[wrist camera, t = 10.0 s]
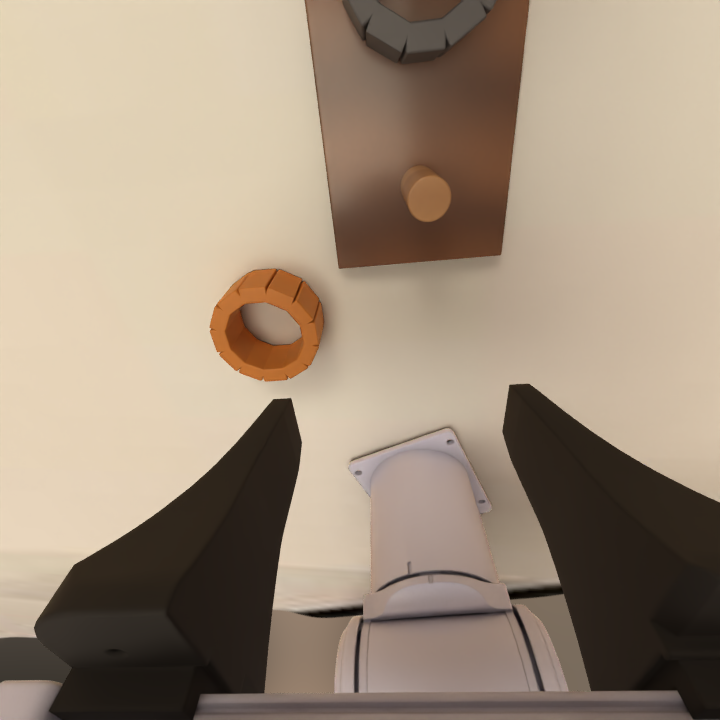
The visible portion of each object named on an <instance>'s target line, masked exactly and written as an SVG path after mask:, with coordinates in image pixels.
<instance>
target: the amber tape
mask: <svg viewBox="0 0 720 720" xmlns="http://www.w3.org/2000/svg"><path fill="white" fill-rule="evenodd" d="M301 281H302V279H301V278H299V277H296V276H294V275H292V274H289V273H287V272H285V271H282V270H280V269H279V270H278V272H277V270H276V269H266V270H254V271H252V272H251V273H250V272H249V273H247V274H246V275H245V276H243V277H242V278H241V279H239V280H238V281H237V282H235V283H234V284H233V285H232V286H231V288H230V289H229V290H228V291H227V292H226V294H225V295H224V296H223V297H222V298H221V300H220V301H219V302H218V303H217V305H216V306H215V308H214V312H213V315H212V319H211V323H210V328H211V330H210V333H211V336H212V339H213V342H214V345H215V348H216V350H217V352H220V354H219V355H220V356H221V357H222V358H223V359H224V360H225V361H226V362H227V363H228V364H229V365H230V366H231V367H232V368H233V369H235V370H236V371H237V370H239V369H240V370H239V373H241V374H244V375H247V376H249V377H252V378H255V379H258V380H263V377H264V381H279V380H287V379H288V377H289V378H290V379H291V378H293V377H294V376H296V375H297V374H299V373H301V372H302V371H304V370H306V369H307V368H308V366H310V365H311V363H312V361H313V359H314V357H315V355H316V352H317V350H318V348H319V344H320V339H321V335H322V330H323V324H324V319H323V313H322V306H321V302H318V301H319V298H318V297H317V296H316V294H315V293H314V292H313V291H312V290H311V288H310V287H309V286H308V285H307V283H306V282H302V283H301ZM261 302H267V303H269V304H271V305H274V306H276V307H279V308H281V309H284V310H286V311H287V312H288V313H289V314H290V315H291V316H292V317H293V318H294V320H295V321H296V322H297V323H298V324H299V325H300V329H301V334H302V338H300V339H299V340H297V341H295V342H294V343H292V344H290V345H276V346H273V345H270V344H268V343H265V342H263V341H260V340H257V339H256V338H255V337H254V336H253V335H252V334H251V333H250V332H249V331H248V330H247V329H246V328H245V326H244V323H243V320H242V316H241V313H240V308H241V307H242V306H243V305H244V304H249V303H261Z"/></svg>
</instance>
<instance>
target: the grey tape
mask: <svg viewBox="0 0 720 720" xmlns="http://www.w3.org/2000/svg"><path fill="white" fill-rule="evenodd" d="M342 1H343V5H344V8H345V10H346V12H347V13H348V15H349V17H350V19H351V21H352V23H353V24H354V26H355V28H356V30H357V32H358V34H359V36H360V37H361V39H362V40H363V41H364V40H366V45H367V46H368V47H369V48H371V49H373V50H374V51H376V52H378V53H380V54H381V55H383V56H385V57H386V58H388V59H390V60H391V61H393V62H395V63H397V62H398V60H399V58H400V62H401V64H408V63H417V62H425V61H433V60H434V59H435V58H436V57H437V56H438V57H441V56H442V55H443V54H445V53H446V52H447V51H448V50H449V49H451V48H452V47H453V46H454V45H455V44H457V43H458V42H459V41H460V40H461V39H463V38H464V37H465V36H466V35H467V34H468V33H470V32H471V31H472V30H473V29H474V28H475V27H476V26H478V25H479V24H480V23H481V22H482V21H483V20H484V19H485V18H486V17H487V16H486V15H487V14H488V13H489V12H490V11H491V10H492V9H493V7H494V5H495V3H496V1H497V0H461V2H460V3H458V4H457V5H456V6H455V7H454V8H453V9H452V10H450V11H449V12H448V13H447V14H446V15H445V16H444V17H442V18H437V19H429V20H421V21H413V22H409V21H408V20H406V19H405V18H403V17H401V16H400V15H398V14H397V13H395V12H393V11H392V10H390V9H389V8H387V7H385V6H384V5H382V4H381V3H380V2H379V0H342Z"/></svg>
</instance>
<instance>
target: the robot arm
mask: <svg viewBox="0 0 720 720" xmlns="http://www.w3.org/2000/svg"><path fill="white" fill-rule="evenodd" d="M502 432H503V435H504V439H505V442H506V446H507V449H508V452H509V455H510V458H511V461H512V463H513V466H514V468H515V470H516V472H517V474H518V477H519V479H520V481H521V483H522V486H523V488H524V490H525V492H526V494H527V496H528V499H529V501H530V503H531V505H532V507H533V510H534V512H535V514H536V516H537V518H538V521H539V523H540V525H541V528H542V530H543V533H544V535H545V538H546V541H547V544H548V547H549V550H550V553H551V556H552V558H553V561H554V564H555V567H556V570H557V574H558V577H559V580H560V583H561V586H562V589H563V593H564V596H565V599H566V602H567V605H568V609H569V612H570V616H571V619H572V623H573V626H574V629H575V633H576V636H577V640H578V643H579V647H580V651H581V654H582V658H583V662H584V665H585V669H586V673H587V677H588V681H589V684H590V688H591V691H569V690H568V687H567V684H566V680H565V677H564V674H563V671H562V668H561V666H560V662H559V660H558V657H557V654H556V652H555V649H554V647H553V644H552V642H551V639H550V637H549V635H548V633H547V631H546V629H545V627H544V625H543V624H542V622H541V621H540V619H539V618H537V617H536V616H535V615H534V614H533V613H532V612H530V611H529V609H528V608H527V607H526V606H525V605H522V604H515V605H511V602H510V598H509V595H508V591H507V588H506V585H505V584H504V583H500V582H499V578H498V575H497V571H496V568H495V564H494V561H493V557H492V554H491V550H490V547H489V543H488V539H487V536H486V532H485V529H484V525H483V522H482V518H481V515H480V514H483V513H486V512H489V511H490V510H491V509H492V506H491V503H490V501H489V499H488V497H487V495H486V493H485V491H484V489H483V488H482V486H481V484H480V482H479V480H478V478H477V476H476V474H475V472H474V470H473V468H472V466H471V464H470V462H469V460H468V458H467V456H466V454H465V452H464V451H463V449H462V447H461V445H460V443H459V441H458V439H457V437H456V435H455V433H454V431H453V430H452V429H449V428H446V429H442V430H439V431H437V432H434V433H431V434H428V435H425V436H422V437H419V438H416V439H413V440H411V441H408V442H405V443H402V444H399V445H396V446H393V447H390V448H387V449H385V450H382V451H379V452H376V453H373V454H370V455H367V456H364V457H361V458H359V459H356V460H353V461H351V462H350V463H349V466H348V469H349V471H350V472H351V473H352V475H353V476H354V477H355V479H356V480H357V481H358V482H359V484H360V485H361V486H362V488H363V489H364V490H365V492H366V493H367V494H368V495H369V497H370V498H371V593H370V594H365V595H364V600H363V616H355V617H352V619H351V620H350V622H349V624H348V626H347V628H346V629H345V630H344V632H343V633H342V636H341V638H340V642H339V647H338V652H337V660H336V671H335V692H334V693H271V694H267V693H264V690H265V678H266V667H267V656H268V644H269V635H270V626H271V616H272V608H273V600H274V592H275V584H276V576H277V569H278V562H279V555H280V548H281V542H282V537H283V532H284V528H285V524H286V520H287V516H288V512H289V508H290V504H291V500H292V496H293V492H294V488H295V484H296V479H297V475H298V471H299V464H300V455H301V446H302V441H301V437H300V433H299V429H298V424H297V420H296V416H295V412H294V408H293V404H292V400H291V398H287V399H273V400H272V402H271V403H270V404H269V405H268V406H267V407H266V409H265V410H264V411H263V412H262V413H261V415H260V416H259V417H258V418H257V419H256V421H255V422H254V423H253V424H252V425H251V427H250V428H249V429H248V430H247V431H246V432H245V433H244V435H243V436H242V437H241V438H240V439H239V440H238V441H237V443H236V444H235V445H234V446H233V447H232V448H231V449H230V450H229V451H228V452H227V453H226V454H225V455H224V456H223V457H222V458H221V459H220V460H219V462H218V463H217V464H216V465H215V466H213V467H212V468H211V469H210V470H209V471H208V472H207V473H206V474H205V475H204V476H203V477H201V478H200V479H199V480H198V481H197V482H196V483H195V484H194V485H192V486H191V487H190V488H189V489H188V490H186V491H185V492H184V493H183V494H181V495H180V496H179V497H177V498H176V499H175V500H173V501H172V502H171V503H170V504H168V505H167V506H166V507H164V508H163V509H162V510H161V511H159V512H158V513H156V514H155V515H154V516H152V517H151V518H149V519H148V520H146V521H145V522H144V523H142V524H141V525H139V526H138V527H136V528H135V529H133V530H132V531H130V532H129V533H127V534H125V535H124V536H122V537H121V538H119V539H118V540H116V541H114V542H113V543H111V544H109V545H108V546H106V547H104V548H102V549H101V550H99V551H97V552H96V553H94V554H92V555H91V556H89V557H87V558H86V559H84V560H82V561H80V562H78V563H77V564H75V565H74V566H73V567H72V569H71V570H70V572H69V573H68V575H67V576H66V578H65V579H64V581H63V582H62V584H61V585H60V587H59V588H58V590H57V591H56V593H55V594H54V596H53V597H52V599H51V600H50V602H49V603H48V605H47V606H46V608H45V609H44V611H43V612H42V614H41V615H40V617H39V618H38V620H37V621H36V624H35V627H34V630H35V633H36V636H37V639H38V640H39V641H40V642H41V643H42V644H43V645H44V646H45V647H47V648H48V649H49V650H50V651H52V652H53V653H54V654H55V655H57V656H58V657H59V658H61V659H62V660H63V661H64V662H66V663H67V664H68V665H69V666H71V667H72V669H71V671H70V673H69V675H68V676H67V678H66V680H65V682H64V684H61V683H58V682H54V681H47V680H24V681H4V682H2V683H0V720H720V503H719V502H717V501H715V500H713V499H711V498H708V497H706V496H704V495H702V494H700V493H698V492H696V491H693V490H691V489H689V488H687V487H685V486H683V485H682V484H680V483H678V482H676V481H674V480H672V479H670V478H668V477H666V476H664V475H662V474H660V473H658V472H656V471H654V470H653V469H651V468H649V467H647V466H646V465H644V464H642V463H640V462H639V461H637V460H635V459H634V458H632V457H630V456H628V455H627V454H625V453H623V452H622V451H620V450H619V449H617V448H616V447H614V446H612V445H611V444H609V443H608V442H606V441H605V440H603V439H602V438H601V437H599V436H598V435H596V434H595V433H593V432H592V431H590V430H589V429H588V428H586V427H585V426H583V425H582V424H581V423H579V422H578V421H577V420H575V419H574V418H573V417H571V416H570V415H569V414H567V413H566V412H565V411H563V410H562V409H561V408H559V407H558V406H557V405H556V404H554V403H553V402H552V401H551V400H549V399H548V398H547V397H546V396H544V395H543V394H542V393H541V392H539V391H538V390H537V389H535V388H534V387H533V386H531V385H530V384H516V385H509V392H508V399H507V405H506V412H505V418H504V425H503V431H502ZM450 439H451V441H447V440H450Z"/></svg>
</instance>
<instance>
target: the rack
mask: <svg viewBox="0 0 720 720" xmlns="http://www.w3.org/2000/svg"><path fill="white" fill-rule="evenodd" d="M379 2H380V3H381V4H382V5H384V6H385V7H387V8H389V9H390V10H392V11H393V12H395V13H397V14H398V15H400V16H401V17H403V18H405V19H406V20H408V21H409V22H413V21H421V20H429V19H437V18H442V17H444V16H445V15H446V14H447V13H448V12H449V11H450V10H452V9H453V8H454V7H455V6H456V5H457V4H458V3H460V2H461V0H379ZM305 6H306V13H307V21H308V29H309V37H310V45H311V53H312V61H313V69H314V77H315V84H316V92H317V100H318V108H319V116H320V124H321V132H322V140H323V148H324V155H325V163H326V171H327V179H328V187H329V195H330V203H331V211H332V219H333V226H334V234H335V242H336V250H337V258H338V266H339V268H340V269H342V268H354V267H365V266H377V265H389V264H401V263H413V262H425V261H437V260H448V259H460V258H472V257H484V256H496V255H501V252H502V243H503V234H504V225H505V216H506V207H507V198H508V189H509V180H510V171H511V162H512V153H513V144H514V135H515V126H516V117H517V108H518V99H519V90H520V81H521V72H522V63H523V54H524V45H525V36H526V27H527V18H528V9H529V0H497V1H496V3H495V5H494V7H493V9H492V10H491V11H490V12H489V13H488V14H487V15H486V16H487V17H486V18H485V19H484V20H483V21H482V22H481V23H480V24H479V25H478V26H476V27H475V28H474V29H473V30H472V31H471V32H470V33H468V34H467V35H466V36H465V37H464V38H463V39H461V40H460V41H459V42H458V43H457V44H455V45H454V46H453V47H452V48H451V49H449V50H448V51H447V52H446V53H445V54H443V55H442V56H441V57H438V56H437V57H436V58H435V59H434V60H433V61H425V62H417V63H408V64H401V62H400V58H399V60H398V62H397V63H395V62H393V61H391V60H390V59H388V58H386V57H385V56H383V55H381V54H380V53H378V52H376V51H374V50H373V49H371V48H369V47H368V46H367V45H366V40H364V41H363V40H362V39H361V37H360V36H359V34H358V32H357V30H356V28H355V26H354V24H353V23H352V21H351V19H350V17H349V15H348V13H347V12H346V10H345V8H344V5H343V1H342V0H305Z"/></svg>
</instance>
